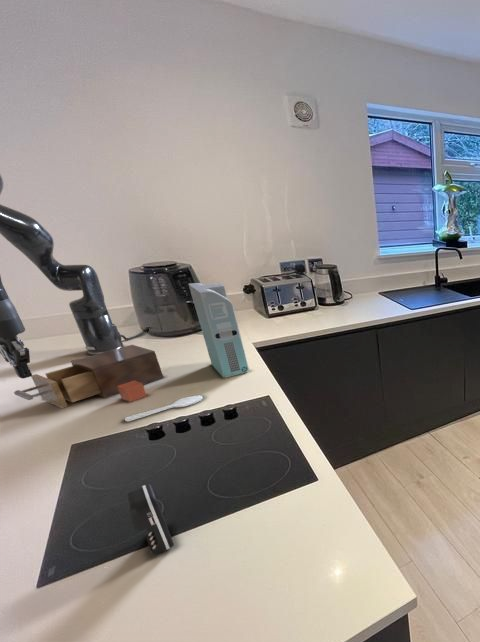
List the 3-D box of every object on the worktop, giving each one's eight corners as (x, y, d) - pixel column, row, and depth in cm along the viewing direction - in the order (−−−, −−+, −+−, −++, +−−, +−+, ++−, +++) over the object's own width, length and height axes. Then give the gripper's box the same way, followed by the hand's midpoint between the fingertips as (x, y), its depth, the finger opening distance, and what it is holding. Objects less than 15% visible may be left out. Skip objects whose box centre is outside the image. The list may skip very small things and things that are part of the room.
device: (249, 371, 141) (228, 288, 130) (224, 378, 136) (199, 292, 124) (235, 358, 151) (215, 280, 140) (211, 364, 146) (188, 283, 135)
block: (121, 399, 121) (116, 386, 120) (138, 392, 125) (134, 380, 123) (129, 402, 120) (124, 389, 118) (147, 395, 123) (142, 383, 122)
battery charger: (141, 538, 74) (120, 490, 70) (167, 527, 77) (148, 479, 72) (148, 560, 70) (125, 510, 65) (175, 547, 72) (155, 498, 68)
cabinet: (104, 397, 122) (92, 368, 118) (82, 389, 126) (70, 361, 123) (163, 377, 135) (154, 350, 131) (141, 370, 140) (132, 344, 136)
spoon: (123, 417, 112) (122, 415, 111) (200, 394, 125) (199, 393, 124) (127, 424, 108) (126, 422, 108) (205, 400, 121) (205, 398, 121)
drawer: (38, 416, 110) (25, 390, 107) (18, 407, 114) (5, 382, 111) (124, 387, 126) (115, 364, 123) (104, 380, 130) (95, 357, 127)
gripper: (29, 317, 104) (56, 376, 111) (5, 310, 109) (33, 367, 116) (-15, 325, 98) (17, 387, 105) (-38, 317, 103) (-6, 377, 109)
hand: (25, 376), depth 110 cm, fingers closed
